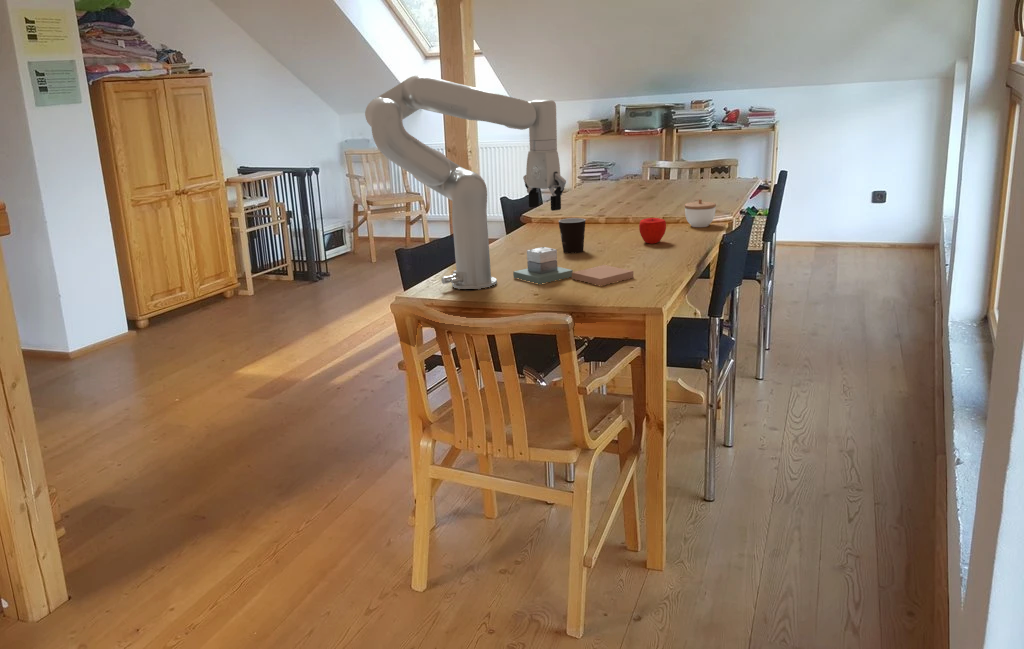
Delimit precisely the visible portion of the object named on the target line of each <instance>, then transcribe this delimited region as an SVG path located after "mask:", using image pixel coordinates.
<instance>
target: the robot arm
mask: <svg viewBox="0 0 1024 649" xmlns="http://www.w3.org/2000/svg"><path fill="white" fill-rule="evenodd" d="M419 110H424V111H428V112H432V113H437V114H442V115H445V116H450V117H454V118H458V119H461V120H462V119H463V120H468V121H477V122H486V123H490V124H496V125H499V126H500V125H501V126H504V127H505V128H509V129H513V130H514V129H515V130H523V131H524V130H526V129H528V135H529V136H528V137H529V138H528V139H529V140H528V141H529V150H528V153H527V158H526V170H525V171H526V172H525V173H526V174H525V175H523V178H522V179H523V181H524V186H525V188H526V193H527V194H528V208H536V207H539V206H540V200H539V199H540V194H539V192H538V190H540V189H541V190H549V192H550V194H551V195H550V211H552V212H554V211H560V210H561V209H562V196H563V192H564V190H565V187H566V185H567V184H566V183H567V180H566V179H565V178H564V177H563V176H561V167H560V158H559V157H560V156H559V152H558V140H557V139H558V135H557V134H558V132H557V131H558V130H557V126H558V125H557V105H556V102H555V100H553V99H534V100H531V101H528V100H526V99H525V100H524V99H520V98H516V97H512V96H508V95H504V94H500V93H495V92H492V91H487V90H483V89H480V88H477V87H473V86H471V85H466V84H462V83H456V82H453V81H449V80H446V79H442V78H437V77H433V76H428V75H424V74H423V75H422V74H420V75H419V74H418V75H412V76H410V77H407V78H406V79H405V80H403V81H402V82H400V83H398V84H397V85H395V86H394V87H392V88H389V90H387V91H385V92H384V93H382V94H379V95H378V96H377V97H375V98H374V99H372V100H371V101H370V102H369V103H368V104H367V106H366V107H365V112H364V116H365V121H366V122H367V123H368V125H369V126H370V127H371V135H372V138H373V139H372V140H373V141H374V143H375V145H376V147H377V149H378V150H379V152H380V153H381V154H382V156H384V157H385V158H386V159H388V160H389V161H391V162H392V163H393V164H395V165H397V166H398V167H400V168H401V169H403V170H404V171H406V172H408V173H409V174H411V175H412V176H413V177H414V179H416V181H418V182H419V183H420V184H423V185H425V186H426V187H428V188H430V189H431V190H433V191H435V192H436V193H438V194H440V195H441V196H443V197H445V198H446V199H448V200H450V201H451V202H452V203H451V204H452V205H451V206H452V207H451V208H452V210H451V219H452V220H451V221H452V224H451V225H452V234H453V244H454V245H453V246H454V257H455V258H454V260H455V267H456V268H455V269H456V270H452V273H451V274H450V275H446V276H442V277H441V280H440V281H441V283H442V284H443V285H445V284H449V283H450V284H451V286H453V287H454V288H453V287H452V288H453V289H455V288H458V289H457V290H460V289H478V290H482V289H481V288H485V287H489V288H491V287H490V286H492V285H494V286H496V285H497V284H498V280H497V278H496V277H494V276H492V272H491V271H492V270H491V258H490V257H491V255H490V243H489V231H488V230H489V228H488V214H487V213H488V209H487V208H488V188H487V184H486V183H485V180H484V179H483V177H482V176H481V175H480V174H479V173H477V172H475V171H472V170H469V169H467V168H464V167H462V166H461V165H459V164H457V163H456V162H454V161H452V160H451V159H450V158H448V157H447V156H446V155H444V153H442V152H441V151H439V150H437V149H434V148H432V147H430V146H429V145H427V144H425V143H424V142H422V141H420V140H419V139H417V138H416V137H415V136H413V135H412V134H410V133H409V132H408V131H407V130H406V129H405V126H404V123H403V122H404V121H403V120H404V119H406V118H408V117H409V116H411V115H413V114H414V113H415V112H418V111H419ZM496 283H497V284H496ZM495 284H496V285H495ZM492 287H493V286H492ZM485 289H486V288H485Z"/></svg>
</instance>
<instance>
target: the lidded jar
mask: <svg viewBox="0 0 1024 649" xmlns="http://www.w3.org/2000/svg"><path fill="white" fill-rule="evenodd" d="M702 200H703V199H702V198H699V199H698V201H693V202H692V201H691V202H686V203H685V204H684V214H685V215H684V216H685V218H686V221H687V223H688V224H690V226H691V227H693V228H707V227H709V226H710V225H711V223H713V221H714V219H715V215H716V206H717V205H716V202H713V201H702Z"/></svg>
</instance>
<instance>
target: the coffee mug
mask: <svg viewBox="0 0 1024 649" xmlns="http://www.w3.org/2000/svg"><path fill="white" fill-rule="evenodd" d="M557 222H558V226H559V228H558V229H559V233H560V238H561V239H560V241H561V244H562V252H563V253H564V254H579V253H583V252H584V247H585V246H584V245H585V244H584V243H585V233H586V232H585V231H586V219H585V218H582V217H570V218H563V219H559V220H558V221H557Z"/></svg>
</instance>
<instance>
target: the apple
mask: <svg viewBox="0 0 1024 649" xmlns="http://www.w3.org/2000/svg"><path fill="white" fill-rule="evenodd" d="M638 228H639V233H640V234H639V235H640V236H641V238H642V240H643V242H644V243H646V244H657V243H659V242H660V241H661V240H662V239H663V237H664V235H665V233H666V230H667V222H666V220H665V219H663V218H661V217H660V218H659V217H648V218H647V217H646V218H643V219H640V221H639V225H638Z"/></svg>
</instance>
